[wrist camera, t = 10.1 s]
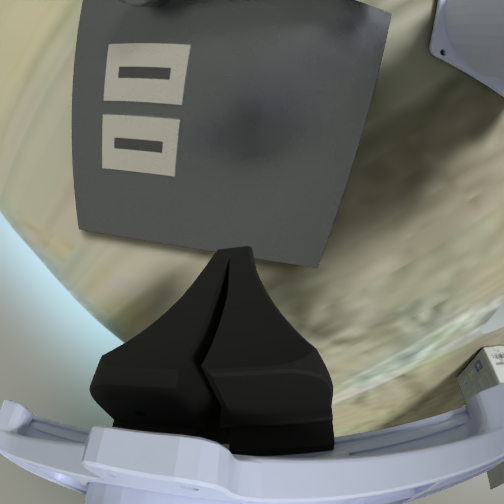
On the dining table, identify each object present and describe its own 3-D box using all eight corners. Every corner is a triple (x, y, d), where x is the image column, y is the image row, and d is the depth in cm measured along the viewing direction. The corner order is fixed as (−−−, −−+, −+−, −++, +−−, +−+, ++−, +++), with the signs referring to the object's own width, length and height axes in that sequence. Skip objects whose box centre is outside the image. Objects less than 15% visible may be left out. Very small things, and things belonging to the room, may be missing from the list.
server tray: (377, 18, 14) (403, 10, 11) (312, 248, 24) (320, 283, 21) (104, -14, 13) (73, -24, 9) (92, 213, 23) (68, 241, 20)
